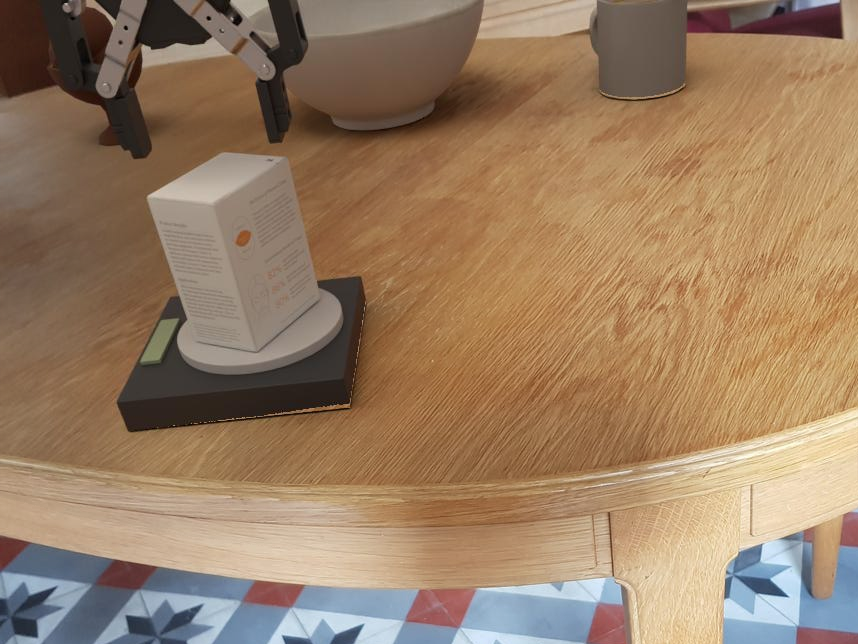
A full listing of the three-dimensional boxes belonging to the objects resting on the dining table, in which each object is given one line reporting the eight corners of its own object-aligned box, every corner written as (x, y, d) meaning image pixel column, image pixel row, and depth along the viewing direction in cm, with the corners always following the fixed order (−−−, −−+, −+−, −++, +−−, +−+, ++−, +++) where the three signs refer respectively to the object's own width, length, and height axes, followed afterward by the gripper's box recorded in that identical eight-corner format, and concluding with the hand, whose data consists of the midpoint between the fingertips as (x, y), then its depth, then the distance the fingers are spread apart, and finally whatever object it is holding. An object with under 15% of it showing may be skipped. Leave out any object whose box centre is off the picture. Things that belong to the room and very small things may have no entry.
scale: (127, 432, 63) (111, 391, 61) (179, 323, 75) (166, 287, 73) (350, 408, 62) (341, 367, 60) (366, 303, 74) (359, 265, 72)
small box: (261, 291, 70) (223, 149, 64) (323, 299, 68) (290, 154, 62) (191, 343, 65) (142, 194, 59) (256, 355, 63) (212, 201, 56)
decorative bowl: (264, 104, 122) (240, 2, 115) (465, 67, 126) (453, -34, 118) (282, 170, 101) (253, 50, 94) (522, 124, 105) (512, 4, 97)
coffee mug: (702, 87, 108) (705, -10, 102) (626, 106, 106) (625, 8, 100) (641, 64, 118) (641, -25, 112) (570, 81, 116) (566, -9, 110)
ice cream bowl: (183, 123, 119) (144, -8, 110) (124, 155, 111) (77, 17, 102) (119, 121, 123) (77, -5, 114) (57, 151, 115) (7, 18, 106)
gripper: (270, -186, 52) (329, 116, 62) (17, -155, 52) (115, 140, 62) (247, -178, 46) (316, 155, 56) (-39, -142, 46) (79, 181, 56)
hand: (210, 147), depth 59 cm, fingers open, 8 cm apart
